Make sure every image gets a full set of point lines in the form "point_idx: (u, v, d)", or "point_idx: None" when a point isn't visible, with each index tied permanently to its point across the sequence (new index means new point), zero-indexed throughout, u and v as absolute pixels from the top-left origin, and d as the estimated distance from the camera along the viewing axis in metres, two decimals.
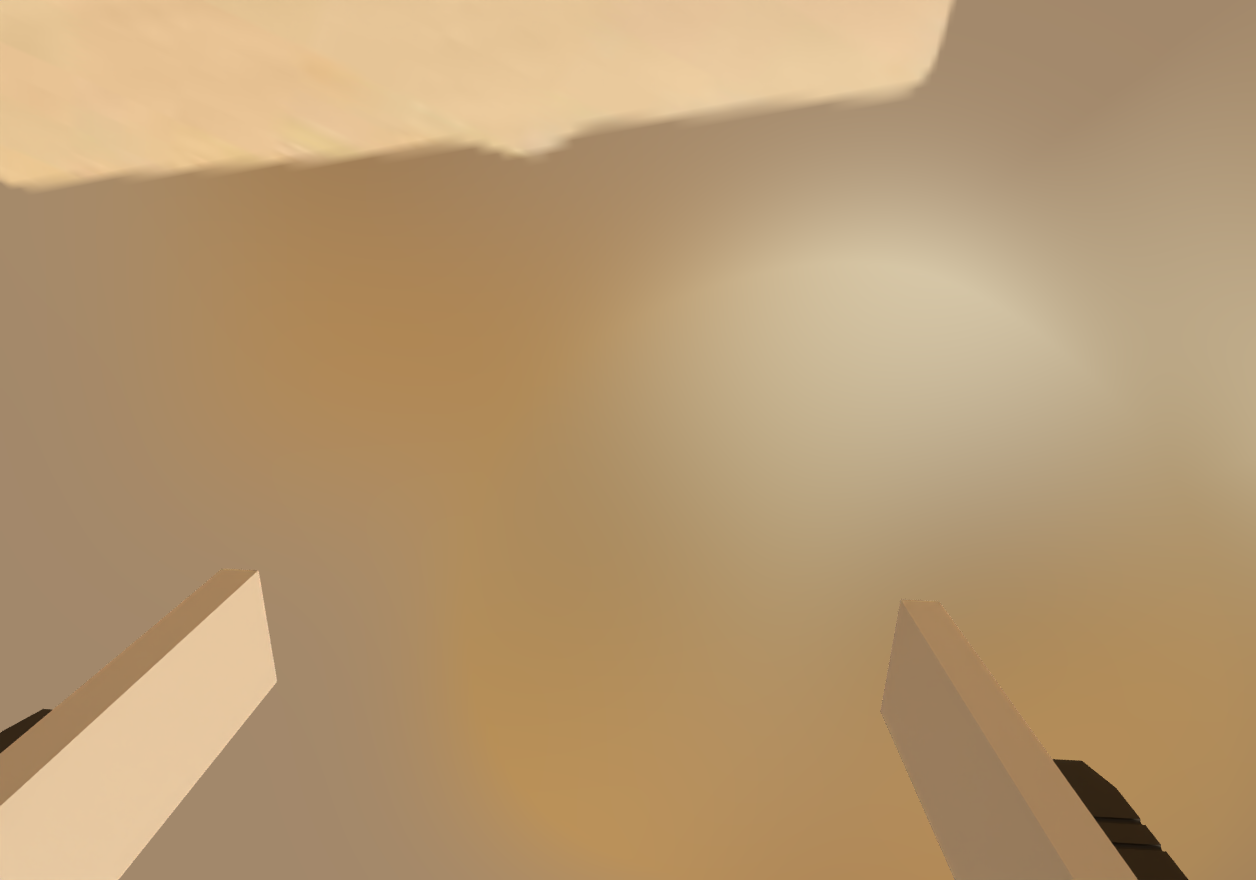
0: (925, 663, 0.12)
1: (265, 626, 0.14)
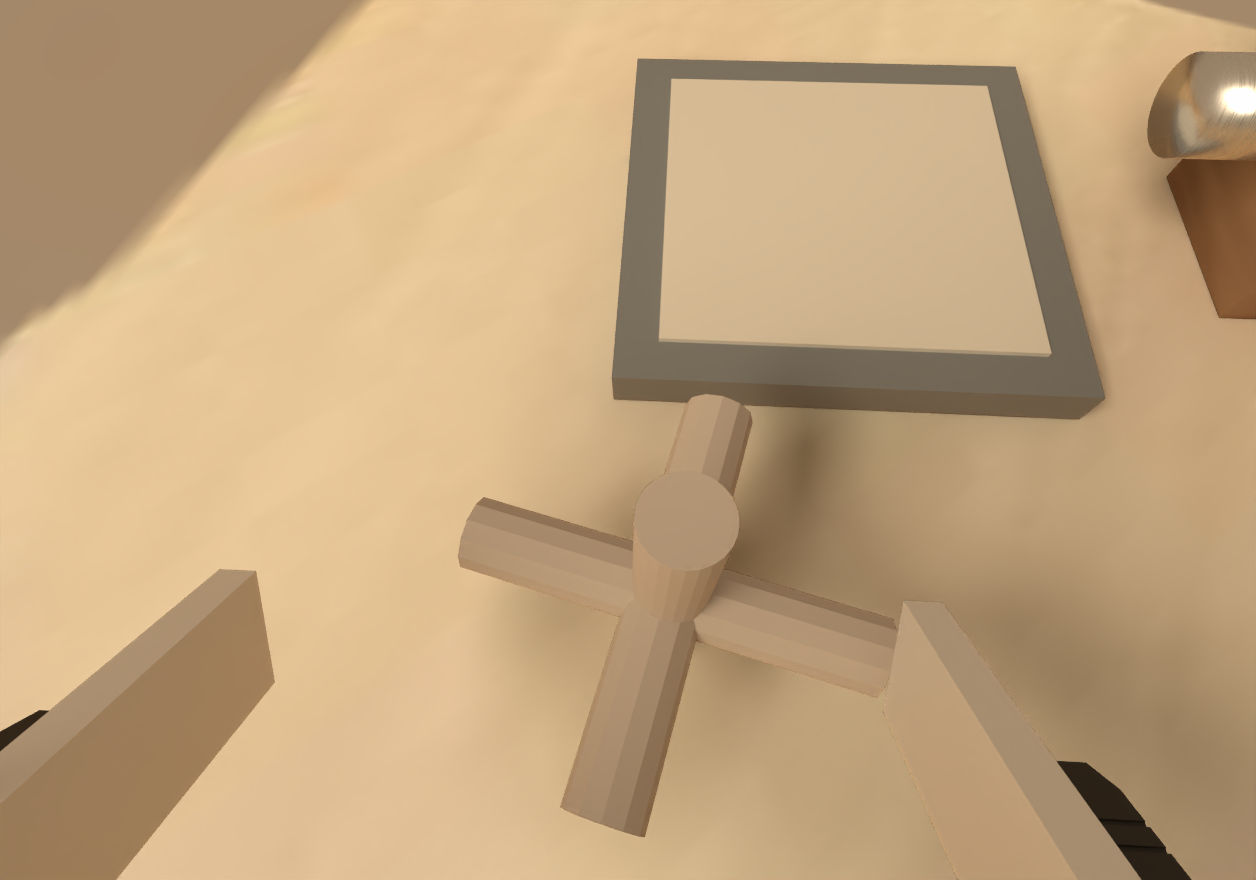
0: (928, 664, 0.12)
1: (262, 627, 0.14)
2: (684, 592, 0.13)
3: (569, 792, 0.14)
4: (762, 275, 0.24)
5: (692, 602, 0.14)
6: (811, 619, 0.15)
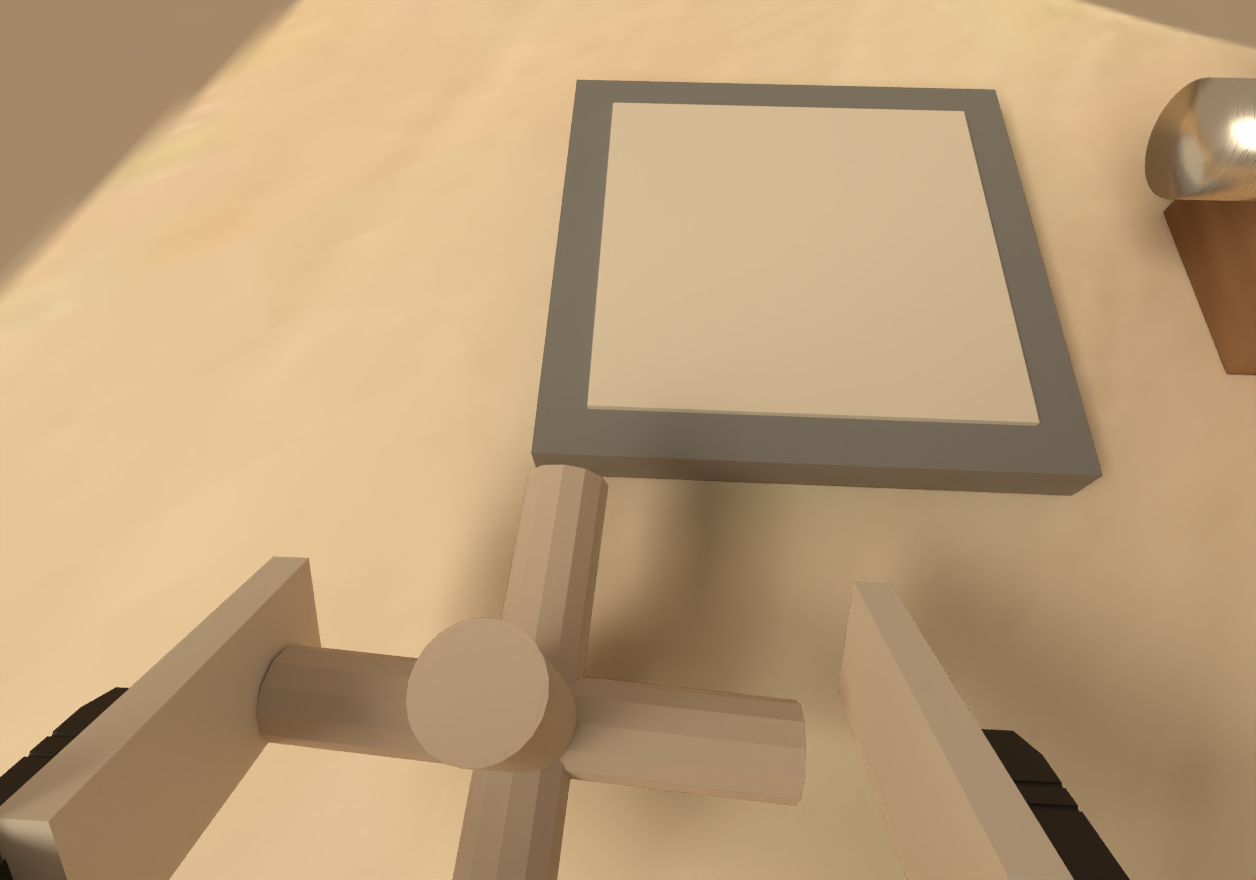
0: (873, 641, 0.13)
1: (313, 612, 0.15)
2: (508, 768, 0.10)
3: None
4: (708, 330, 0.21)
5: (533, 763, 0.10)
6: (700, 730, 0.12)
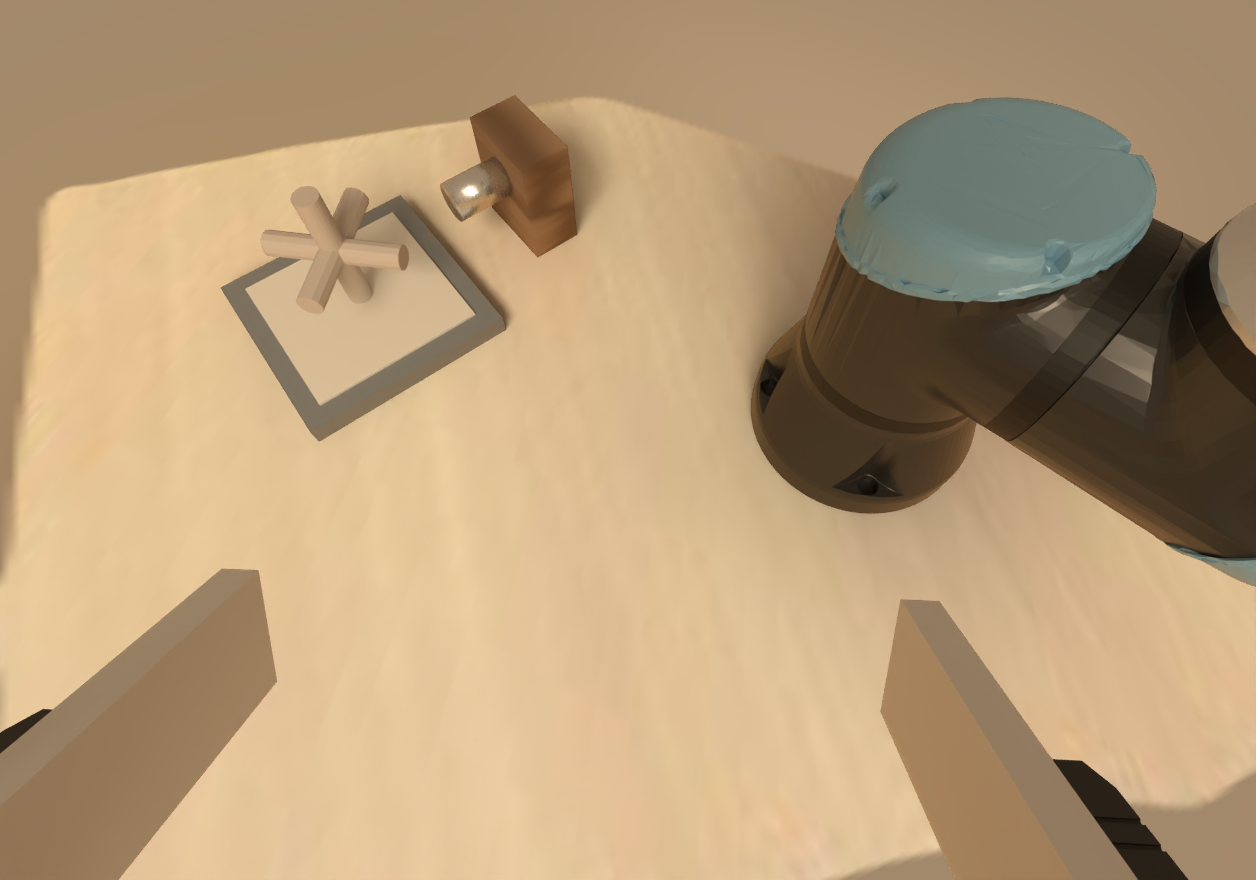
0: (925, 663, 0.12)
1: (265, 626, 0.14)
2: (314, 223, 0.45)
3: None
4: (345, 352, 0.51)
5: (323, 232, 0.46)
6: (374, 244, 0.48)
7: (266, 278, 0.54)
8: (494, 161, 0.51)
